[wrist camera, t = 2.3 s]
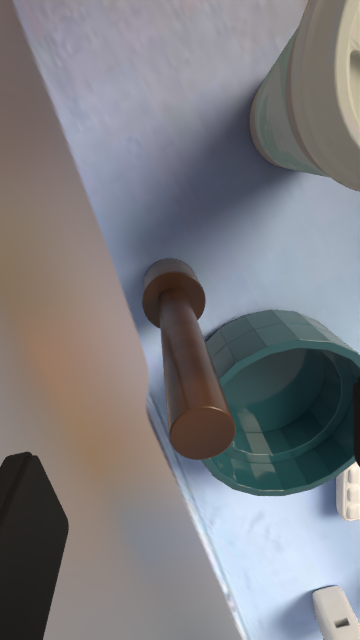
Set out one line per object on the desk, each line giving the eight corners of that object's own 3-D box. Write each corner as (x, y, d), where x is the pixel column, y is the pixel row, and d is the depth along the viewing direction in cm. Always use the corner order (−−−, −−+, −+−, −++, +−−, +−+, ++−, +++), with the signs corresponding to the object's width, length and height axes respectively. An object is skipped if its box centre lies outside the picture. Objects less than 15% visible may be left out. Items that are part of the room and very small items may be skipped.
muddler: (137, 264, 24) (119, 394, 9) (191, 252, 24) (261, 362, 9) (150, 315, 25) (152, 496, 11) (201, 304, 25) (274, 469, 11)
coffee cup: (207, 76, 20) (280, -60, 9) (341, 6, 19) (604, -238, 8) (253, 211, 23) (350, 236, 12) (370, 156, 22) (587, 127, 11)
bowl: (171, 327, 26) (178, 366, 20) (336, 291, 26) (387, 320, 20) (201, 453, 31) (212, 512, 25) (338, 423, 31) (380, 474, 25)
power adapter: (347, 628, 45) (375, 689, 39) (313, 637, 45) (335, 699, 39) (344, 579, 40) (374, 640, 35) (305, 589, 40) (329, 651, 35)
